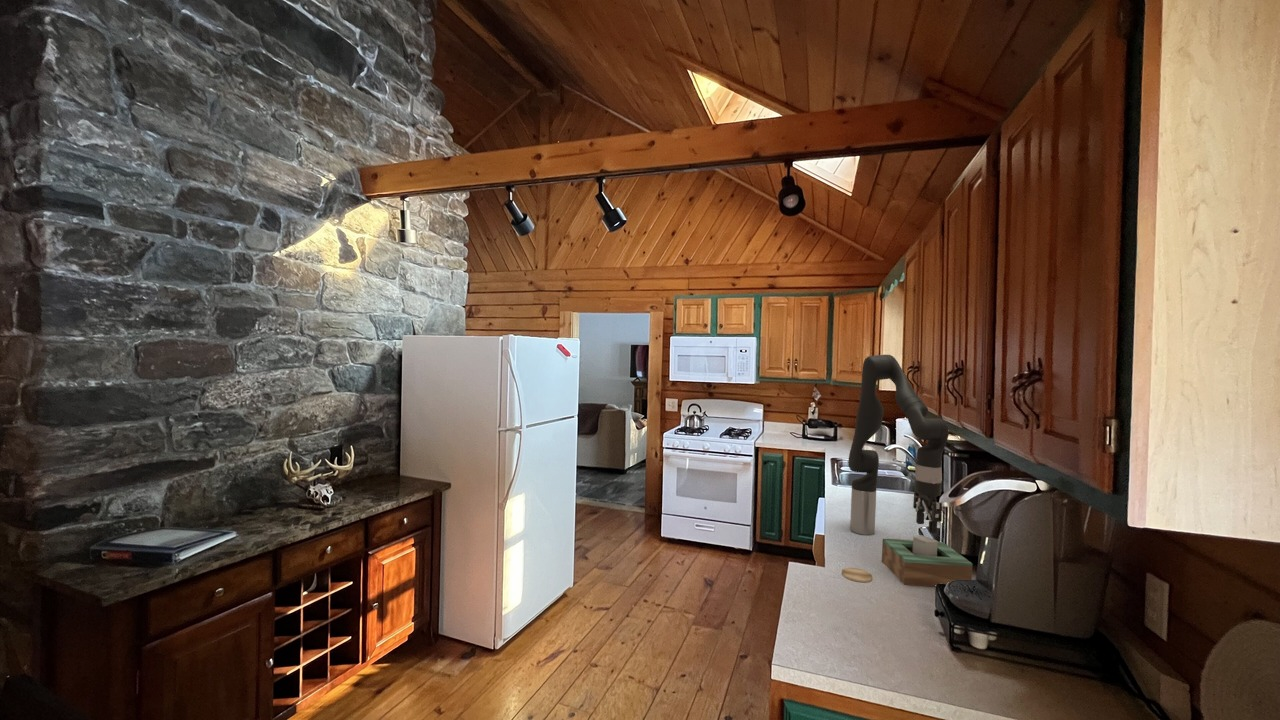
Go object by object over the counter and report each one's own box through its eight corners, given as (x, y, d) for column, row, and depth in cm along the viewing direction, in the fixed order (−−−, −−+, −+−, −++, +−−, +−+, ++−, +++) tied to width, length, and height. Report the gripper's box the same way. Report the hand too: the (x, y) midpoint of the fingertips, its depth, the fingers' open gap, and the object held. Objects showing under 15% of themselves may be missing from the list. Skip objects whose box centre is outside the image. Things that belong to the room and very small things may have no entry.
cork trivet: (838, 569, 169) (838, 566, 169) (866, 571, 168) (866, 568, 168) (847, 581, 160) (847, 578, 160) (876, 583, 159) (876, 580, 159)
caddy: (881, 561, 177) (882, 538, 177) (941, 565, 175) (942, 542, 175) (904, 584, 159) (905, 559, 159) (971, 589, 157) (972, 563, 157)
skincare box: (911, 571, 169) (912, 535, 169) (919, 569, 171) (921, 534, 171) (927, 579, 163) (929, 542, 163) (936, 577, 165) (938, 540, 165)
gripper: (906, 473, 174) (904, 520, 174) (926, 484, 160) (924, 535, 160) (929, 474, 173) (927, 521, 174) (951, 485, 159) (949, 536, 160)
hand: (926, 528), depth 167 cm, fingers open, 8 cm apart
